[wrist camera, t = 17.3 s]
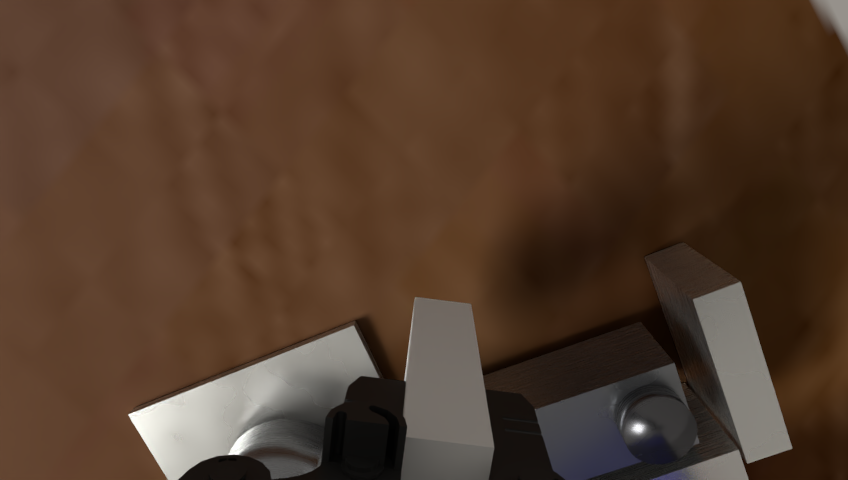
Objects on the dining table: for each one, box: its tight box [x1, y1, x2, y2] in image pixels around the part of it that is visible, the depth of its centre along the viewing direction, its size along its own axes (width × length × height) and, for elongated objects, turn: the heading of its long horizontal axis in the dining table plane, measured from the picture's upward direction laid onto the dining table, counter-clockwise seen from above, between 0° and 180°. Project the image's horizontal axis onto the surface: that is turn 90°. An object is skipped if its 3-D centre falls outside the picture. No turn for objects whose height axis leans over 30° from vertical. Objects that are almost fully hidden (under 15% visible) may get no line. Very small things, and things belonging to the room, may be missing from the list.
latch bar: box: [228, 322, 700, 480], centre depth 18 cm, size 14×4×4 cm, turn 111°
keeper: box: [586, 242, 792, 480], centre depth 18 cm, size 6×6×4 cm
